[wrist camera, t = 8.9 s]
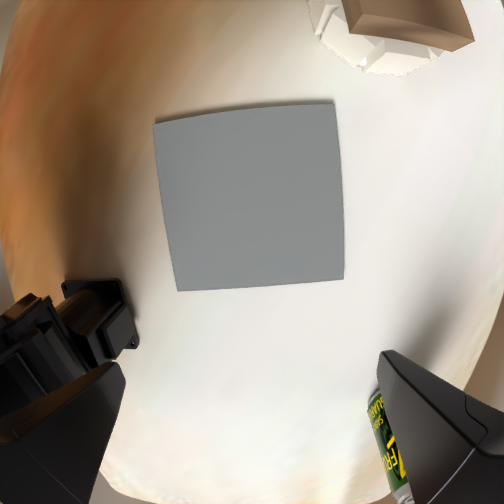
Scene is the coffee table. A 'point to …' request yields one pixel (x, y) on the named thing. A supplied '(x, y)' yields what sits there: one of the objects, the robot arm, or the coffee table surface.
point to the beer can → (389, 451)
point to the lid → (411, 21)
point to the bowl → (366, 43)
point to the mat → (252, 197)
